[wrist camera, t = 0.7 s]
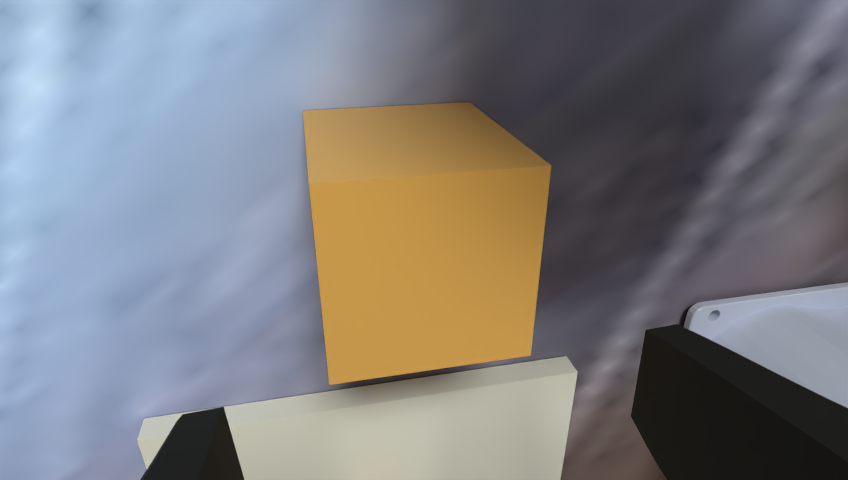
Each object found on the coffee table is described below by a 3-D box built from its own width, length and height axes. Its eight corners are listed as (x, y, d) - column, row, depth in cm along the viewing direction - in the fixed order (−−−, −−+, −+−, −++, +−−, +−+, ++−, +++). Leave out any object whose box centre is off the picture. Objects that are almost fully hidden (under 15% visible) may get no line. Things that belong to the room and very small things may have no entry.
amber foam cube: (469, 102, 17) (551, 165, 12) (464, 247, 19) (530, 355, 14) (302, 110, 16) (308, 183, 11) (317, 262, 18) (329, 385, 13)
